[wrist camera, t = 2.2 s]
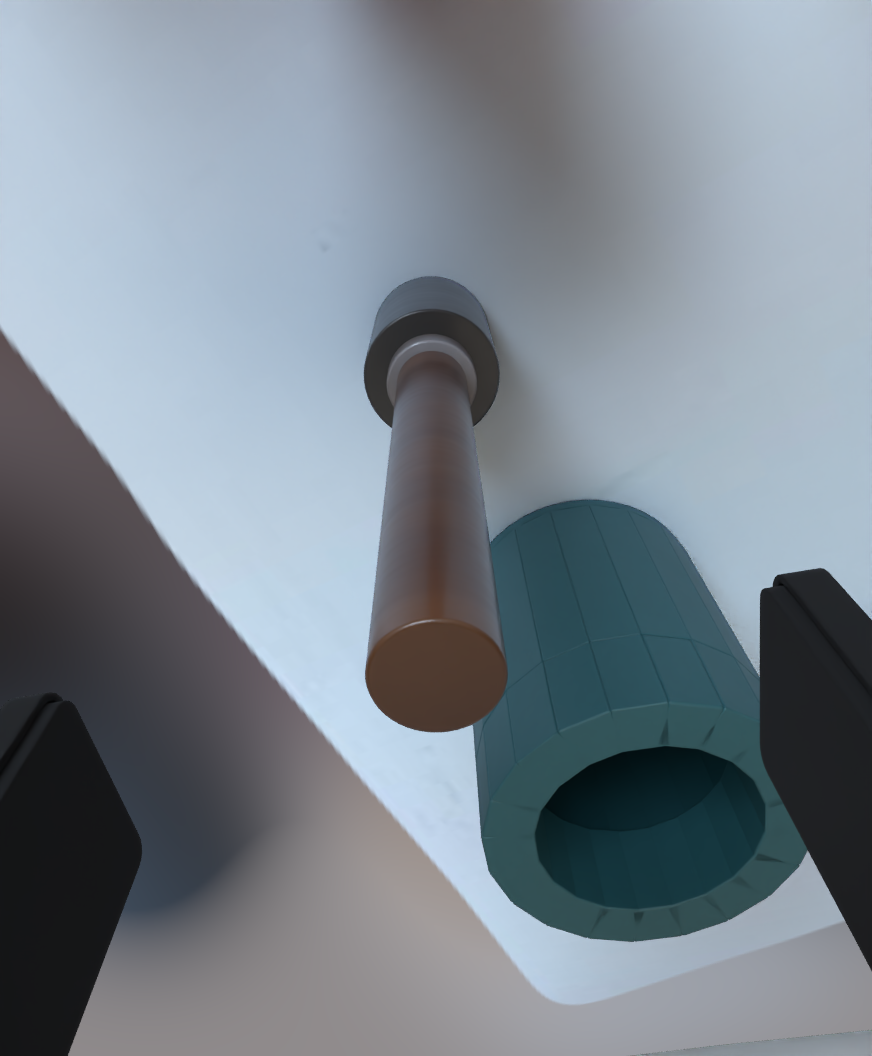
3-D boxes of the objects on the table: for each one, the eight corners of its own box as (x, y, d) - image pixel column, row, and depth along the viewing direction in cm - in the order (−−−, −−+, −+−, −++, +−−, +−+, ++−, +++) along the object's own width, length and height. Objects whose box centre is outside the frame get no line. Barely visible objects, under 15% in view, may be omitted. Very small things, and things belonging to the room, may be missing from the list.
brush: (362, 288, 27) (257, 582, 10) (478, 265, 27) (564, 531, 10) (386, 399, 29) (331, 801, 12) (496, 379, 29) (593, 764, 12)
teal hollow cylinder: (447, 521, 31) (457, 732, 21) (689, 480, 31) (828, 678, 20) (483, 705, 36) (507, 958, 25) (696, 673, 35) (813, 920, 24)
